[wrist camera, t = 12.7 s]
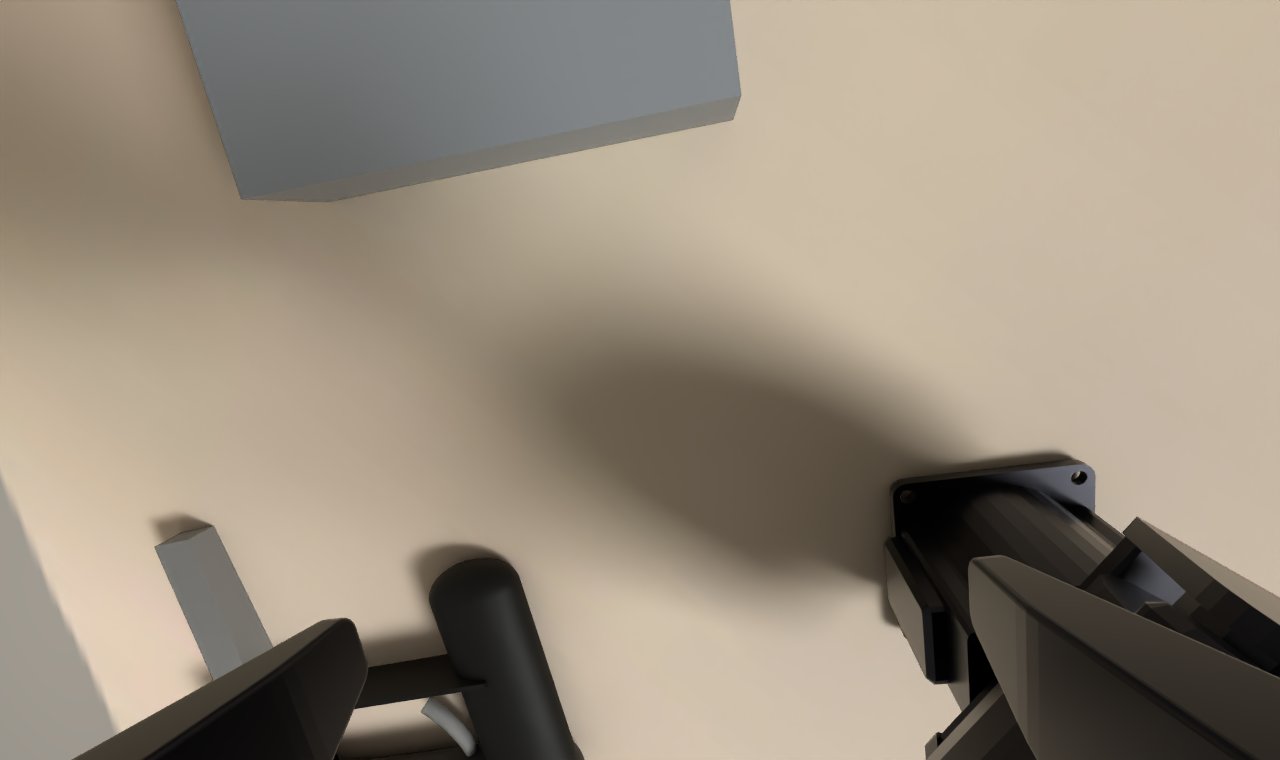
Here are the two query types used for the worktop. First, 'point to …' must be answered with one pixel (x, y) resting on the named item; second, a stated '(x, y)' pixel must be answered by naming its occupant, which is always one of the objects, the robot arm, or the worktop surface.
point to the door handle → (475, 664)
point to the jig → (448, 84)
